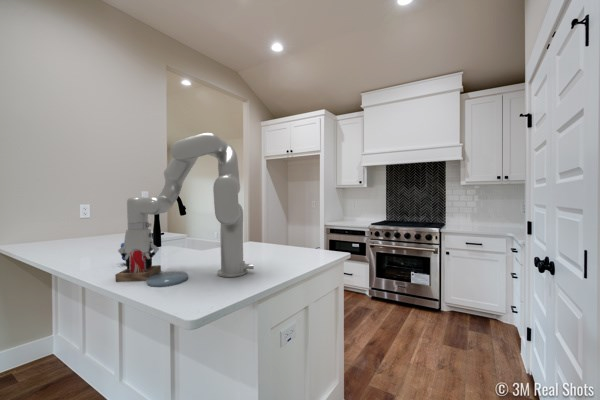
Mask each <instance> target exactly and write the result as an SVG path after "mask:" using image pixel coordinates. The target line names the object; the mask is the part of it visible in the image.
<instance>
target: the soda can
mask: <svg viewBox="0 0 600 400" xmlns="http://www.w3.org/2000/svg"><path fill="white" fill-rule="evenodd" d="M146 259H147V257H146V255H145V253H142V252H141V251H140V250H132V251H131V252H130V254H129V268H130V273H143V272H147V271H149V268H148V269H147V268H146Z"/></svg>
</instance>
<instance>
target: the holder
mask: <svg viewBox="0 0 600 400" xmlns="http://www.w3.org/2000/svg"><path fill="white" fill-rule="evenodd" d="M160 273H162V265H159V264H158V265H152V266H151V267H150V268H149V271H147V272H143V273H130V269H127V268H126V269H123V270H121V271H120V272H118V273H115V279H114V280H115V283H120V282H121V283H122V282H123V283H124V282H125V283H126V282H147V279H148V278H149V277H151V276H153V275H156V274H160Z"/></svg>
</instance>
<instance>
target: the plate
mask: <svg viewBox="0 0 600 400" xmlns="http://www.w3.org/2000/svg"><path fill="white" fill-rule="evenodd" d="M188 279H189V274H188V273H187V272H185V271H166V272H160V273H158V274H156V275H153V276H151V277H149V278H148V279H147V281H146V286H148V287H151V288H152V287H153V288H162V287H163V288H164V287H166V288H167V287H172V286H175V285H179V284H182V283H185V282H186V281H188Z"/></svg>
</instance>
